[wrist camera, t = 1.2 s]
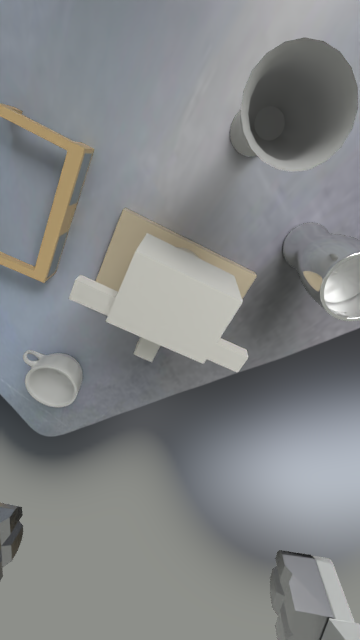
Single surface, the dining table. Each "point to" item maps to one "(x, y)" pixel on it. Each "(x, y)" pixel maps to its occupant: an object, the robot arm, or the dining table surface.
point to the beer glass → (327, 268)
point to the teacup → (53, 378)
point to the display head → (167, 292)
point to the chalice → (296, 106)
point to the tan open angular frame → (63, 199)
